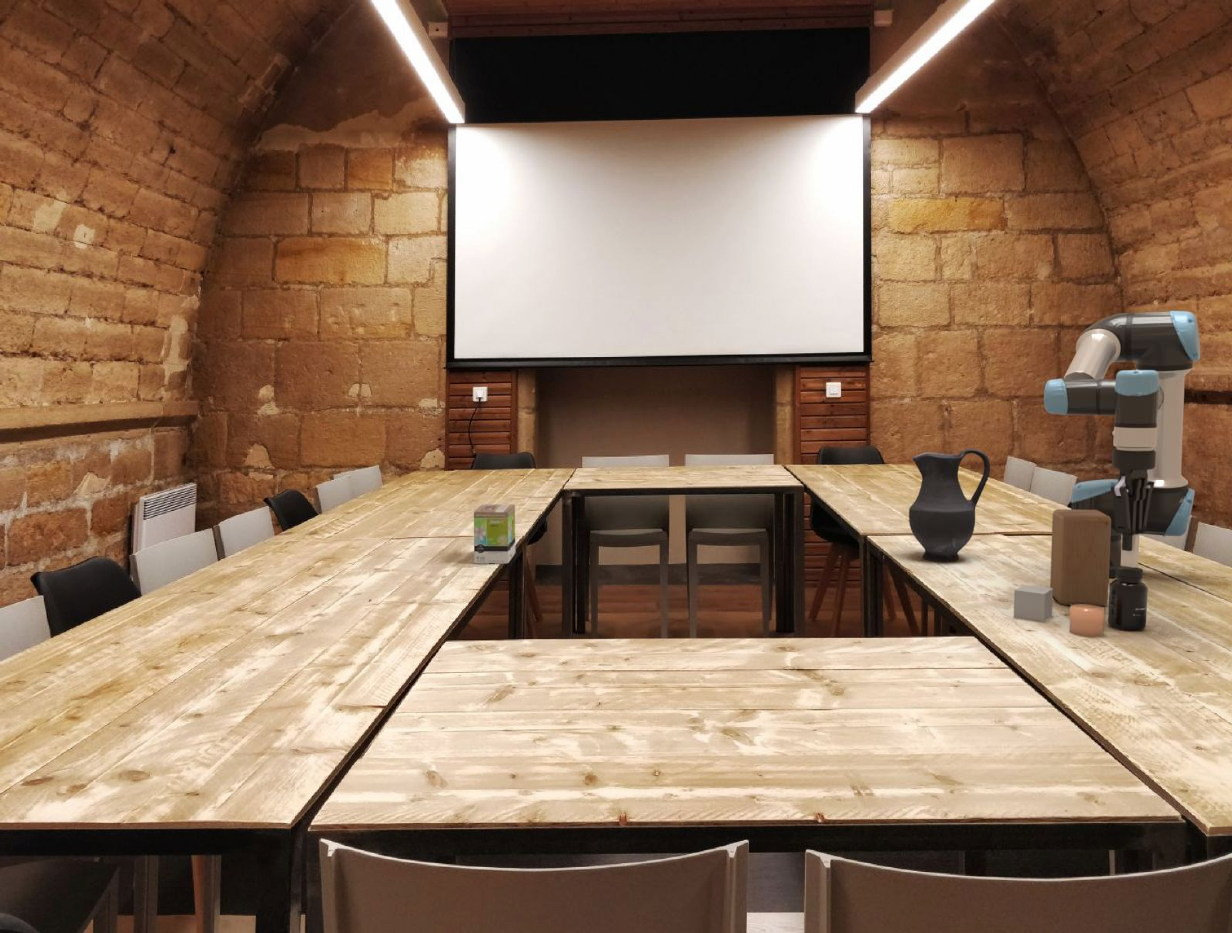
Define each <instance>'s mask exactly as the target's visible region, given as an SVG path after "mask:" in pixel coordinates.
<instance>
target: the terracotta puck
mask: <svg viewBox="0 0 1232 933" xmlns="http://www.w3.org/2000/svg"><path fill="white" fill-rule="evenodd" d="M1069 606H1070V607H1069V608H1070V609H1069V633H1070V634H1071V635H1072V634H1073V635H1076V636H1080V637H1089V638H1090V637H1091V638H1097V637H1102V636H1104V624H1105V623H1104V622H1105V608H1104V607H1103V606H1094V605H1086V604H1076V605H1069Z"/></svg>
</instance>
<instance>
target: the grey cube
mask: <svg viewBox="0 0 1232 933" xmlns="http://www.w3.org/2000/svg"><path fill="white" fill-rule="evenodd" d="M1013 595H1014V596H1013V597H1014V598H1013V618H1014V619H1021V620H1027V621H1034V622H1039V623H1040V622H1041V623H1045V622H1046V621H1048V620H1049V619H1050V618H1051V617H1053V598H1054V597H1053V588H1050V587H1045V586H1044V587H1043V586H1037V585H1029V584H1022V585H1020V586H1019V587H1017V588H1015V589H1014V593H1013Z"/></svg>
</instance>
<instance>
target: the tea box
mask: <svg viewBox="0 0 1232 933" xmlns="http://www.w3.org/2000/svg"><path fill="white" fill-rule="evenodd" d="M473 550H474V551H473V559H474V560H473V563H474V564H475V565H476V564H477V565H479V564H480V565H482V564H483V565H486V564H487V565H490V564H489V563H495V564H496V565H498V564H499V565H500V564H501V565H502V564H509V563H510V561H511V560H512V559H513V557H514V556H515V554H516V505H515V504H481V505H480V506H479V507H478V508H476V509H475V510H474V511H473ZM495 564H494V565H495Z"/></svg>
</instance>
